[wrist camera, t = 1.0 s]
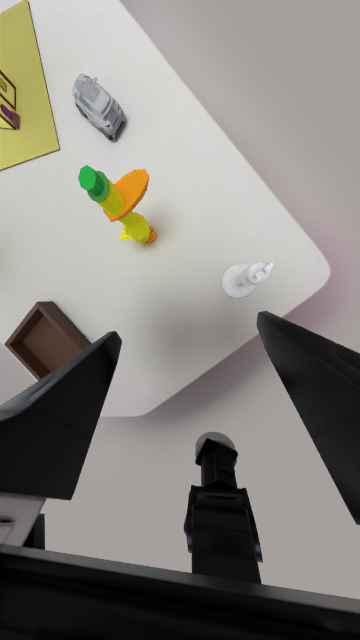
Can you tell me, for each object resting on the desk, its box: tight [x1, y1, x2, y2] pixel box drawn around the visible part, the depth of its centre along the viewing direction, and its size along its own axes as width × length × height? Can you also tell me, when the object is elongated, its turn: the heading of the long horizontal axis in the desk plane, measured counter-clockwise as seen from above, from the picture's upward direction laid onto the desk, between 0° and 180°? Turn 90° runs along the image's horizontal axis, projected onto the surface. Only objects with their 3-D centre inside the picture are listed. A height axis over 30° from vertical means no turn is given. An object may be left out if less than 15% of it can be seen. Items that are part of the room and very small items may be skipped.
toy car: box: [72, 74, 126, 139], centre depth 19 cm, size 4×8×3 cm, turn 48°
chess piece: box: [221, 262, 275, 298], centre depth 17 cm, size 5×5×10 cm
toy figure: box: [79, 165, 157, 244], centre depth 17 cm, size 7×4×12 cm, turn 126°
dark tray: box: [4, 301, 91, 381], centre depth 27 cm, size 14×12×3 cm
